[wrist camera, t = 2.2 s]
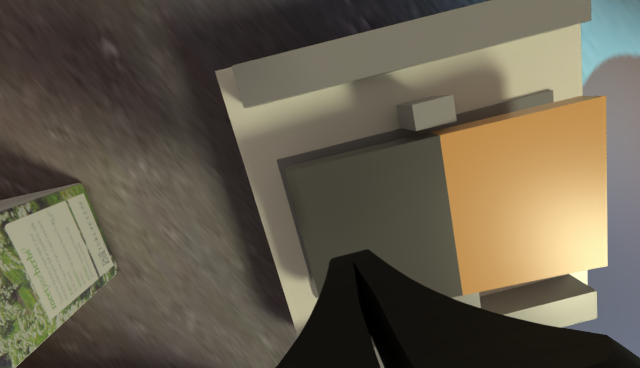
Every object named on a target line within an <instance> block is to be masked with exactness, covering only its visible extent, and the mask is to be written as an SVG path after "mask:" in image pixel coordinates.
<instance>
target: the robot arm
mask: <svg viewBox="0 0 640 368" xmlns="http://www.w3.org/2000/svg"><path fill="white" fill-rule="evenodd" d="M371 337H372V339H373V342H374V344H375V346H376V349H377V351H378V354H379V356H380V359H381V361H382V363H383V366H384V368H640V358H639V357H638V356H636V355H635V354H633V353H632V352H630V351H629V350H628V349H626V348H625V347H623V346H622V345H620V344H619V343H618V342H616V341H615V340H613V339H612V338H610V337H609V336H607V335H603V334H596V333H590V332H585V331H579V330H573V329H567V328H561V327H555V326H549V325H544V324H539V323H534V322H530V321H526V320H522V319H517V318H513V317H509V316H505V315H502V314H498V313H494V312H491V311H488V310H484V309H481V308H478V307H475V306H472V305H469V304H466V303H463V302H461V301H458V300H455V299H453V298H450V297H448V296H446V295H443V294H441V293H439V292H436V291H434V290H432V289H430V288H428V287H426V286H424V285H422V284H420V283H418V282H416V281H414V280H413V279H411V278H409V277H407V276H406V275H404V274H403V273H401V272H400V271H398V270H397V269H395V268H393V267H392V266H391V265H389V264H388V263H386V262H385V261H384V260H382V259H381V258H380V257H378V256H377V255H376V254H374V253H373V252H372V251H370V250H369V249H366V250H362V251H358V252H354V253H350V254H346V255H342V256H338V257H335V258H331V260H330V261H329V267H328V271H327V275H326V278H325V281H324V284H323V287H322V290H321V292H320V295H319V298H318V300H317V302H316V304H315V306H314V308H313V311H312V313H311V315H310V317H309V319H308V321H307V323H306V324H305V326H304V328H303V330H302V331H301V333H300V334H299V336H298V338H297V339H296V341H295V342H294V344H293V345H292V347H291V348H290V349H289V351H288V352H287V354H286V355H285V356H284V358H283V359H282V360H281V362H280V363H279V364H278V365H277V367H276V368H381V367H380V364H379V361H378V359H377V356H376V353H375V350H374V347H373V344H372V339H371Z"/></svg>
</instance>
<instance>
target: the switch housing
mask: <svg viewBox="0 0 640 368" xmlns="http://www.w3.org/2000/svg"><path fill="white" fill-rule="evenodd" d="M587 21H591V0H490V1H486V2H482V3H478V4H474V5H470V6H466V7H462V8H458V9H454V10H450V11H446V12H442V13H438V14H434V15H430V16H426V17H422V18H418V19H414V20H410V21H406V22H402V23H398V24H394V25H390V26H387V27H383V28H379V29H375V30H371V31H367V32H363V33H359V34H355V35H351V36H347V37H343V38H339V39H335V40H331V41H327V42H323V43H319V44H315V45H311V46H307V47H303V48H299V49H295V50H291V51H287V52H283V53H280V54H276V55H272V56H268V57H264V58H260V59H256V60H252V61H248V62H244V63H240V64H236V65H232V67H230V68H226V69H222V70H218V71H215V73H216V76H217V80H218V83H219V86H220V89H221V92H222V96H223V99H224V102H225V105H226V108H227V112H228V115H229V118H230V121H231V124H232V128H233V131H234V134H235V137H236V140H237V144H238V147H239V150H240V153H241V156H242V160H243V163H244V166H245V169H246V172H247V176H248V179H249V182H250V185H251V188H252V192H253V195H254V198H255V201H256V204H257V208H258V211H259V214H260V217H261V220H262V224H263V227H264V230H265V233H266V236H267V240H268V243H269V246H270V249H271V252H272V256H273V259H274V262H275V265H276V268H277V272H278V275H279V278H280V281H281V285H282V288H283V291H284V294H285V297H286V301H287V304H288V307H289V310H290V313H291V317H292V320H293V323H294V326H295V329H296V333H297V336H299V334H300V333H301V331H302V330H303V328H304V326H305V324H306V323H307V321H308V319H309V317H310V315H311V313H312V311H313V308H314V306H315V304H316V302H317V300H318V298H319V295H318V292H317V288H316V285H315V281H314V277H313V274H312V270H311V267H310V263H309V260H308V256H307V253H306V249H305V245H304V242H303V238H302V235H301V231H300V228H299V224H298V220H297V217H296V213H295V210H294V206H293V203H292V199H291V195H290V192H289V188H288V185H287V181H286V178H285V174H284V172H285V170H286V168H287V166H291V165H295V164H299V163H303V162H307V161H311V160H315V159H320V158H324V157H328V156H332V155H336V154H340V153H345V152H349V151H353V150H357V149H361V148H365V147H370V146H374V145H378V144H382V143H386V142H390V141H394V140H399V139H403V138H407V137H411V136H415V135H419V134H424V133H428V132H432V131H436V130H440V129H444V128H449V127H453V126H457V125H461V124H465V123H469V122H474V121H478V120H482V119H486V118H490V117H494V116H498V115H503V114H507V113H511V112H515V111H519V110H523V109H528V108H532V107H536V106H540V105H544V104H548V103H553V102H557V101H561V100H565V99H569V98H573V97H577V96H582V61H581V25H580V23H584V22H587ZM587 281H588V280H587V270H584V271H580V272H575V273H570V274H565V275H560V276H555V277H550V278H545V279H540V280H536V281H531V282H526V283H521V284H516V285H511V286H506V287H501V288H497V289H492V290H487V291H482V292H477V293H472V294H467V295H462V296H457V297H453V299H455V300H458V301H461V302H463V303H466V304H469V305H472V306H475V307H478V308H481V309H484V310H488V311H491V312H494V313H498V314H502V315H505V316H509V317H513V318H517V319H522V320H526V321H530V322H534V323H539V324H544V325H549V326H555V327H564V326H568V325H572V324H576V323H580V322H584V321H588V320H592V319H596V318H597V291H596V290H594V289H593V288H591V287H589V286H588V283H587ZM371 339H372V337H371ZM372 344H373V347H374V350H375V353H376V356H377V359H378V361H379V364H380V367H381V368H384V366H383V363H382V361H381V359H380V356H379V354H378V351H377V349H376V346H375V344H374V342H373V339H372Z"/></svg>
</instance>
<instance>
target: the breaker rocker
mask: <svg viewBox="0 0 640 368" xmlns="http://www.w3.org/2000/svg"><path fill="white" fill-rule="evenodd" d="M606 151H607V149H606V96H577V97H573V98H569V99H565V100H561V101H557V102H553V103H548V104H544V105H540V106H536V107H532V108H528V109H523V110H519V111H515V112H511V113H507V114H503V115H498V116H494V117H490V118H486V119H482V120H478V121H474V122H469V123H465V124H461V125H457V126H453V127H449V128H444V129H440V130H436V131H432V132H428V133H424V134H419V135H415V136H411V137H407V138H403V139H399V140H394V141H390V142H386V143H382V144H378V145H374V146H370V147H365V148H361V149H357V150H353V151H349V152H345V153H340V154H336V155H332V156H328V157H324V158H320V159H315V160H311V161H307V162H303V163H299V164H295V165H291V166H287V168H286V170H285V172H284V174H285V178H286V181H287V185H288V188H289V192H290V195H291V199H292V203H293V206H294V210H295V213H296V217H297V220H298V224H299V228H300V231H301V235H302V238H303V242H304V245H305V249H306V253H307V256H308V260H309V263H310V267H311V270H312V274H313V277H314V281H315V285H316V288H317V292H318V295H320V292H321V290H322V287H323V284H324V281H325V278H326V275H327V271H328V267H329V261H330V260H331V258H335V257H338V256H342V255H346V254H350V253H354V252H358V251H362V250H366V249H369V250H370V251H372V252H373V253H374V254H376V255H377V256H378V257H380V258H381V259H382V260H384V261H385V262H386V263H388V264H389V265H391V266H392V267H393V268H395V269H397V270H398V271H400V272H401V273H403V274H404V275H406V276H407V277H409V278H411V279H413V280H414V281H416V282H418V283H420V284H422V285H424V286H426V287H428V288H430V289H432V290H434V291H436V292H439V293H441V294H443V295H446V296H448V297H450V298H453V297H457V296H462V295H467V294H472V293H477V292H482V291H487V290H492V289H497V288H501V287H506V286H511V285H516V284H521V283H526V282H531V281H536V280H540V279H545V278H550V277H555V276H560V275H565V274H570V273H575V272H580V271H584V270H589V269H594V268H599V267H604V266H607V265H608V263H607V262H608V261H607V157H606V155H607V153H606Z"/></svg>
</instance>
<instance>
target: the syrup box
mask: <svg viewBox="0 0 640 368" xmlns="http://www.w3.org/2000/svg"><path fill="white" fill-rule="evenodd" d="M118 271H119V269H118V267H117V264H116V262H115V259H114V257H113V255H112V253H111V250H110V248H109V245H108V243H107V241H106V238H105V236H104V234H103V232H102V229H101V227H100V224H99V222H98V220H97V217H96V215H95V213H94V210H93V208H92V205H91V203H90V201H89V198H88V195H87V193H86V191H85V189H84V187H83V185H82V184H81V183H75V184H71V185H66V186H62V187H57V188H53V189H48V190H44V191H39V192H35V193H31V194H26V195H22V196H17V197H13V198H8V199H4V200H0V368H16V367H17V366H18V365H19V364H20V363H21V362H22V361H23V360H24V359H25V358H26V357H27V356H29V355H30V354H31V353H32V352H33V351H34V350H35V349H36V348H37V347H38V346H39V345H40V344H41V343H43V342H44V341H45V340H46V339H47V338H48V337H49V336H50V335H51V334H52V333H53V332H54V331H55V330H57V329H58V328H59V327H60V326H61V325H62V324H63V323H64V322H65V321H66V320H67V319H68V318H70V317H71V316H72V315H73V314H74V313H75V312H76V311H77V310H78V309H79V308H80V307H81V306H82V305H83V304H84V303H86V302H87V301H88V300H89V299H90V298H91V297H92V296H93V295H94V294H95V293H96V292H97V291H98V290H99V289H100V288H101V287H103V286H104V285H105V284H106V283H107V282H108V281H109V280H110V279H111V278H112V277H114V276H115V275H116V274H117V273H118Z"/></svg>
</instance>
